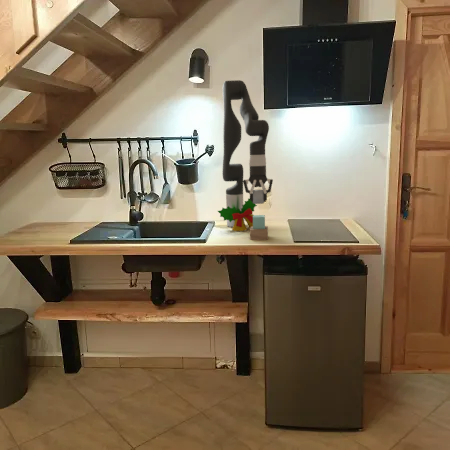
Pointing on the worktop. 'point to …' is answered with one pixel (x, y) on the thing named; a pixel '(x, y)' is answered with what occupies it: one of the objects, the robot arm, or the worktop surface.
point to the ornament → (239, 215)
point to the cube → (258, 221)
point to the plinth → (259, 233)
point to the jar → (258, 196)
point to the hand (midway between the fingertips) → (258, 201)
